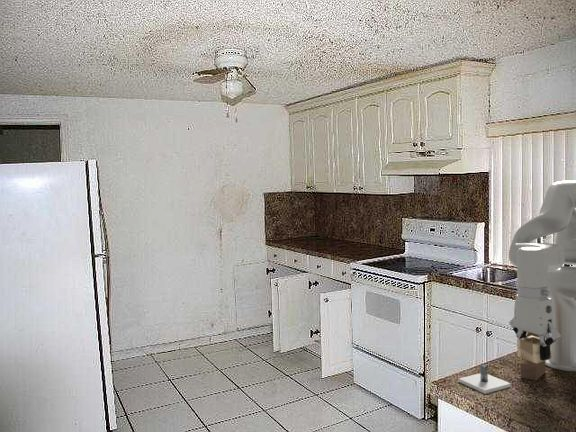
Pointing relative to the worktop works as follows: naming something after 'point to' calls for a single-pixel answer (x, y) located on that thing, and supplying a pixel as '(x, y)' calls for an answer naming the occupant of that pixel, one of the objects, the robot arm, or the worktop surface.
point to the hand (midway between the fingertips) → (534, 354)
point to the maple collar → (530, 349)
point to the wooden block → (532, 367)
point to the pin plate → (485, 385)
